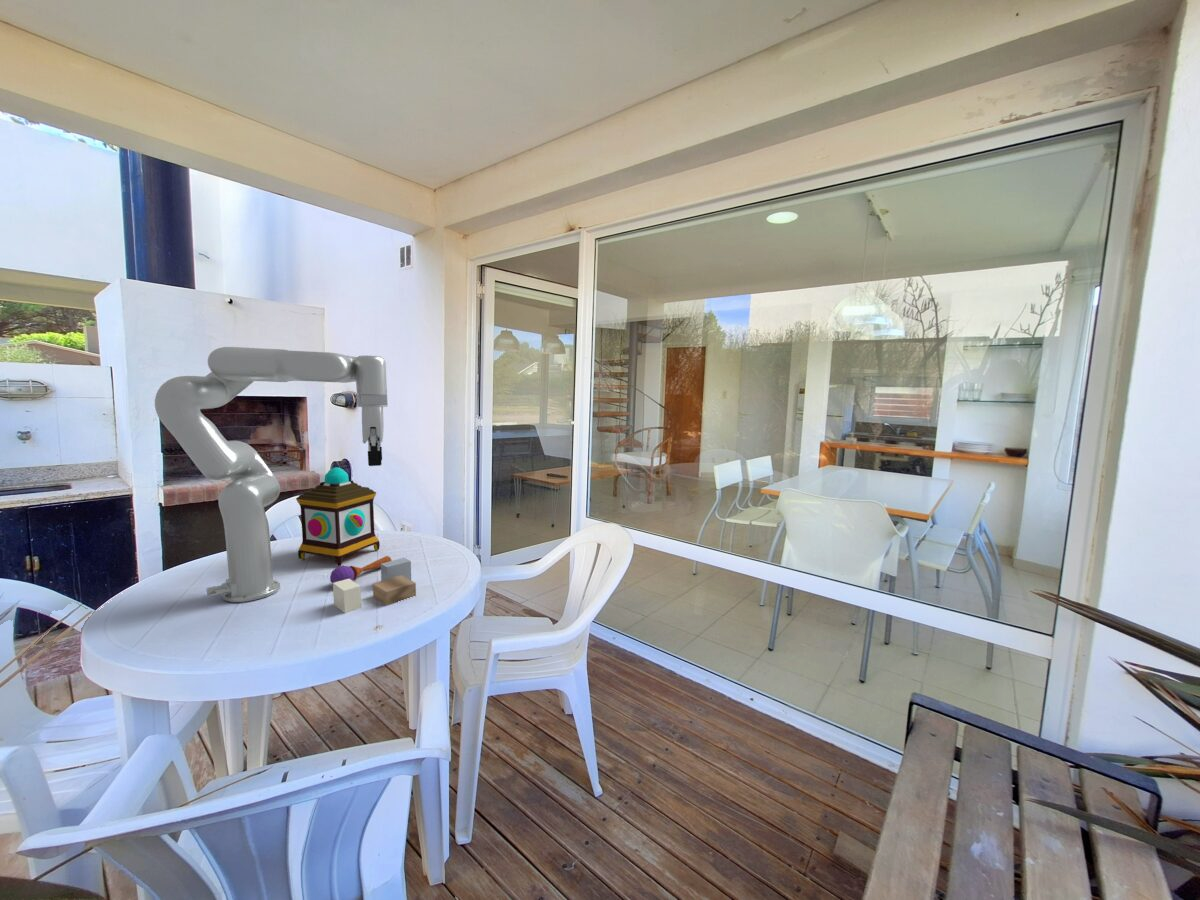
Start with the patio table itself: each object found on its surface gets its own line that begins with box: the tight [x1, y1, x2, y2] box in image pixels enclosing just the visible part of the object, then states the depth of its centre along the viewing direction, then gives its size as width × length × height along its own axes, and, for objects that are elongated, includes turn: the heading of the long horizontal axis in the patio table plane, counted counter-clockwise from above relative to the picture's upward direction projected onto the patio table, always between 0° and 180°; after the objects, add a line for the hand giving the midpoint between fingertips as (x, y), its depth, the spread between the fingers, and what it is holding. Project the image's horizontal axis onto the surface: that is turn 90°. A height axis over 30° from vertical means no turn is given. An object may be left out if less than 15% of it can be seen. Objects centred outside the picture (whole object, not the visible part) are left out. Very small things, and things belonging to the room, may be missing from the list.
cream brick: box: [332, 579, 362, 614], centre depth 122 cm, size 7×4×6 cm, turn 50°
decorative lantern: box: [295, 467, 381, 567], centre depth 157 cm, size 20×20×30 cm
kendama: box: [329, 555, 393, 585], centre depth 141 cm, size 6×6×20 cm
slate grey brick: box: [380, 557, 412, 581], centre depth 138 cm, size 7×4×6 cm, turn 140°
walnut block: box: [372, 575, 417, 606], centre depth 128 cm, size 8×8×4 cm
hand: (375, 463), depth 132 cm, fingers open, 9 cm apart
